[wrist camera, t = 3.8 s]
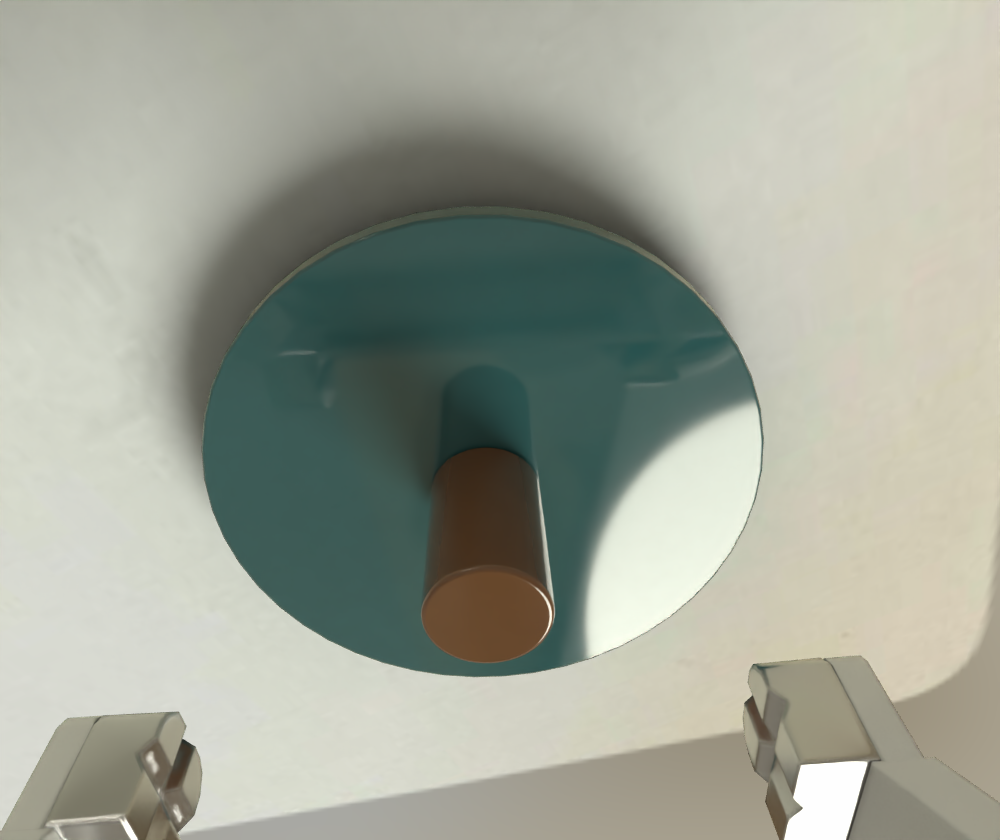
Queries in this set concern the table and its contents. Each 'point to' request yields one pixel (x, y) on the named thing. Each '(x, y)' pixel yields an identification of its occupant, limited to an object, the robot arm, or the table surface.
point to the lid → (482, 442)
